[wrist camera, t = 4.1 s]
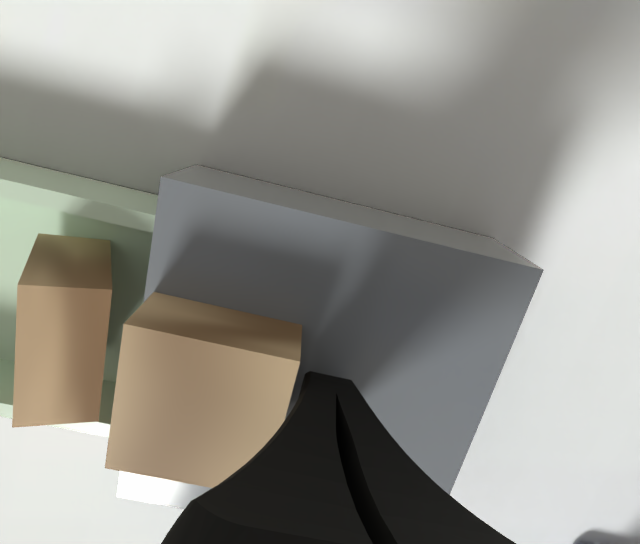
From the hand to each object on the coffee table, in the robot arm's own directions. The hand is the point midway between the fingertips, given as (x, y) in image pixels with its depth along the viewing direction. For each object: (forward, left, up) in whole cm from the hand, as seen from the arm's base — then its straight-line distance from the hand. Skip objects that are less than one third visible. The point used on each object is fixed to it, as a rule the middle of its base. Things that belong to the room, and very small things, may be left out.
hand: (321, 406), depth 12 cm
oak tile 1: (+3, 0, -1) cm, 3 cm away
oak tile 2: (+7, 0, -2) cm, 7 cm away
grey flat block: (0, 0, -4) cm, 4 cm away
